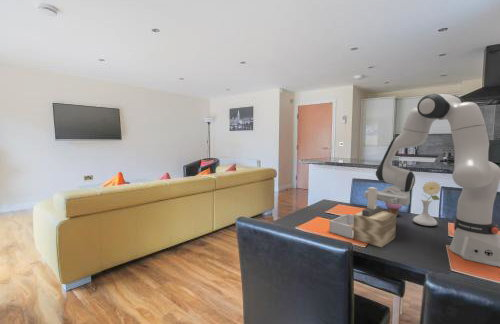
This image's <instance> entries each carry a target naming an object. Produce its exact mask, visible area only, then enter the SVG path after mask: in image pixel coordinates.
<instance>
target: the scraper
mask: <svg viewBox="0 0 500 324" xmlns="http://www.w3.org/2000/svg"><path fill="white" fill-rule="evenodd" d="M367 191H368V199H367V203H366V204H367V208H363V209H362V215H363V216H368V217H369V216H371V215H374V214H376V213H378V212H380V211H381V206H379V205H378V204H377V201H378V200H377V191H378V187H375V186H371V187H367Z"/></svg>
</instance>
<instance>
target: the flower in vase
mask: <svg viewBox="0 0 500 324" xmlns="http://www.w3.org/2000/svg"><path fill="white" fill-rule="evenodd" d="M441 189H442V188H441V184H439V183H438V182H436V181H434V180H433V181H428V182H425V183H424V184H423V185H422V191H423V193H425V194H423V193H421V195H422V196H423V197H426V198H427V199H426V198H425V199H424V198H422V199H420V201H421V203H422V206H423V209H422V212H421V213H420V214H418V215H415V216H414V217H412V221H413V222H414V223H415V224H418V225H421V226H426V227H428V226H429V227H433V226H436V225H438V222H437V220H436V219H435V218H434V217H433V216H432V215H430V214H429V207H430V204H431V203H432V201H439V200H440V197H439V196H437V194H439V192H440V191H441ZM426 194H427V195H429V197H428V196H427V195H426ZM431 199H432V200H431Z"/></svg>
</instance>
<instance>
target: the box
mask: <svg viewBox="0 0 500 324" xmlns="http://www.w3.org/2000/svg"><path fill="white" fill-rule="evenodd" d="M351 224H353V225H354V214H351V213H350V214H349V213H347V214H344V215H341V216H339V217H336V218H334V219H331V220H329V233H331V234H334V235H338V236H341V237H344V238H347V239H350V240H352V239H353V230H352V228H353V227H352V226H348V225H351Z"/></svg>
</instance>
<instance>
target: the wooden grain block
mask: <svg viewBox="0 0 500 324" xmlns="http://www.w3.org/2000/svg"><path fill="white" fill-rule="evenodd" d="M353 215H354V230H353V238H352V239H354V240H355V241H359V242H363V243H366V244H369V245H373V246H376V247H379V248H383V247H384V246H386V245H388V243H390V242H391V241H393V240H394V239H396V229H397V228H396V227H397V216H396V214H394V213H389V212H388V211H384V210H380V212H378V213H376V214H374V215H371V216H369V217H368V216H363V215H362V211H359V212H356V213H354V214H353Z"/></svg>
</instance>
